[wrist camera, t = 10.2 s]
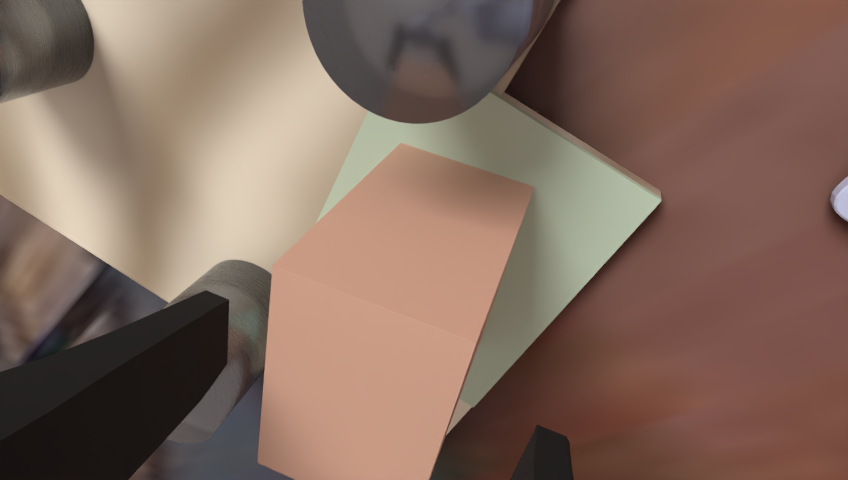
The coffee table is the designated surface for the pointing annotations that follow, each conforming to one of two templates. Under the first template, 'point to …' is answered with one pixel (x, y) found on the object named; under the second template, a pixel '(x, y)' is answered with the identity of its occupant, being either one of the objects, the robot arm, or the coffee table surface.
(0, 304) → the coffee table surface
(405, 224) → the terracotta block
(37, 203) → the course board
